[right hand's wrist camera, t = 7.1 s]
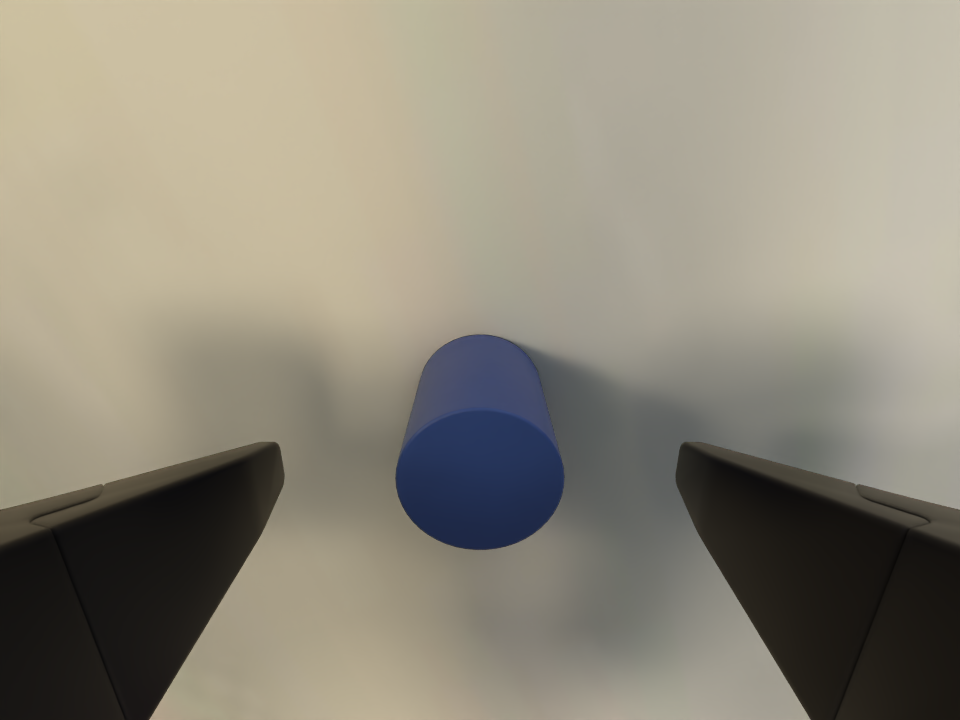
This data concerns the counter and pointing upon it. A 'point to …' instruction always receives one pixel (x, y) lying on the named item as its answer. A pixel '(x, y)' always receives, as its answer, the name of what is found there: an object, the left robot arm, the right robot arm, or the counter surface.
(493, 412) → the canister
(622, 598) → the counter surface
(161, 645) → the right robot arm
